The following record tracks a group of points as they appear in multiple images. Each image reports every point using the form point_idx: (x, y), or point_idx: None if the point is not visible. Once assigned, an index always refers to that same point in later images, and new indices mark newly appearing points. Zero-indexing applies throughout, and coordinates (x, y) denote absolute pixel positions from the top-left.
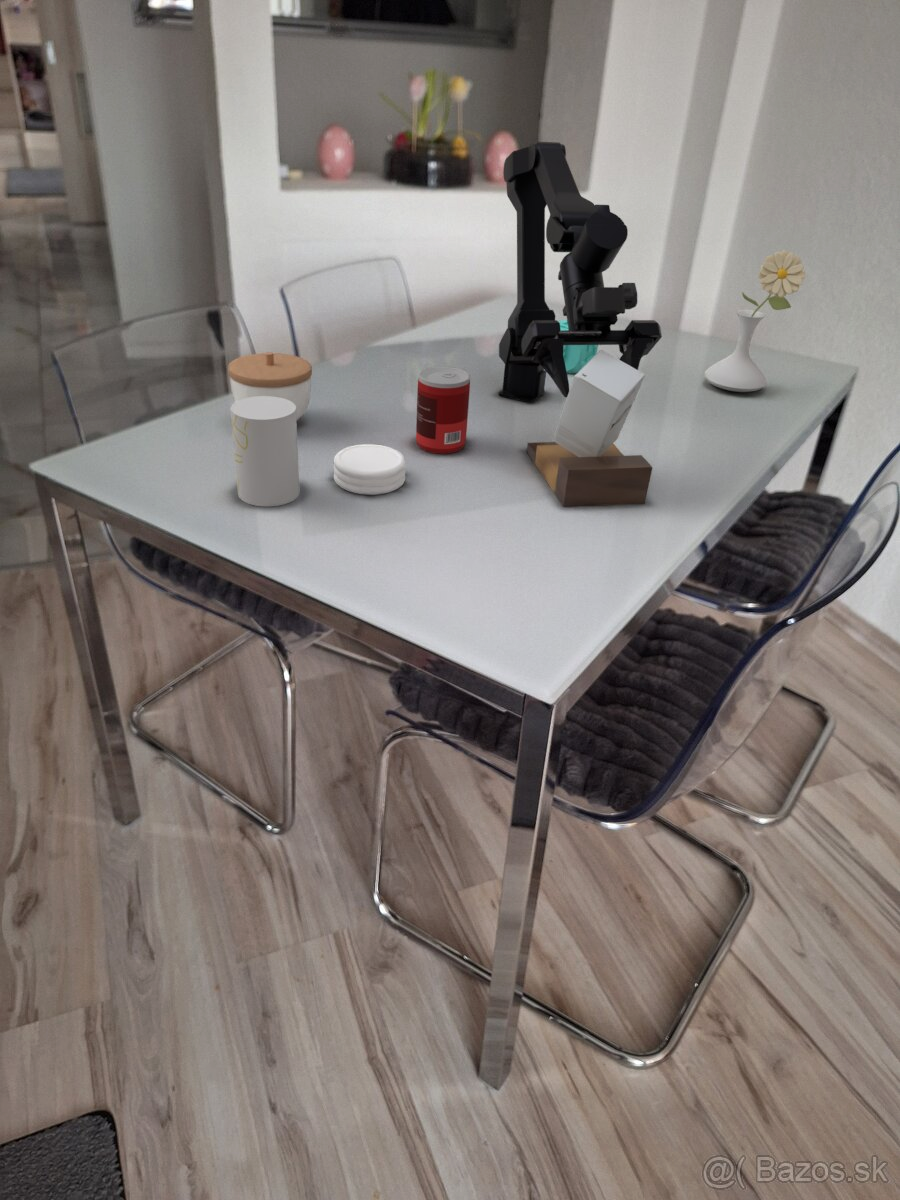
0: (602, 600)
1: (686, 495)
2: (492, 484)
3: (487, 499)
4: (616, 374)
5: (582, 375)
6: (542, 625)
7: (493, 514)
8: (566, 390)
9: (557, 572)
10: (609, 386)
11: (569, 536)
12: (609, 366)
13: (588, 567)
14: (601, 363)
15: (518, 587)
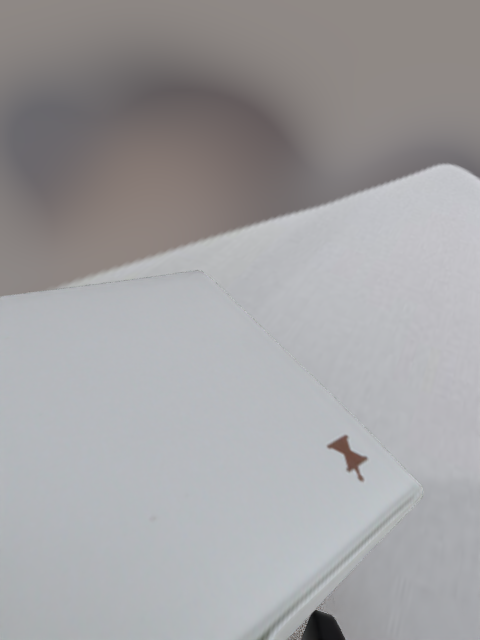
0: (355, 214)
1: None
2: (419, 611)
3: (446, 523)
4: (71, 374)
5: (364, 454)
6: (434, 210)
7: (444, 450)
8: (342, 635)
9: (387, 268)
10: (206, 324)
11: (332, 331)
12: (37, 473)
13: (342, 262)
14: (79, 560)
15: (445, 263)
